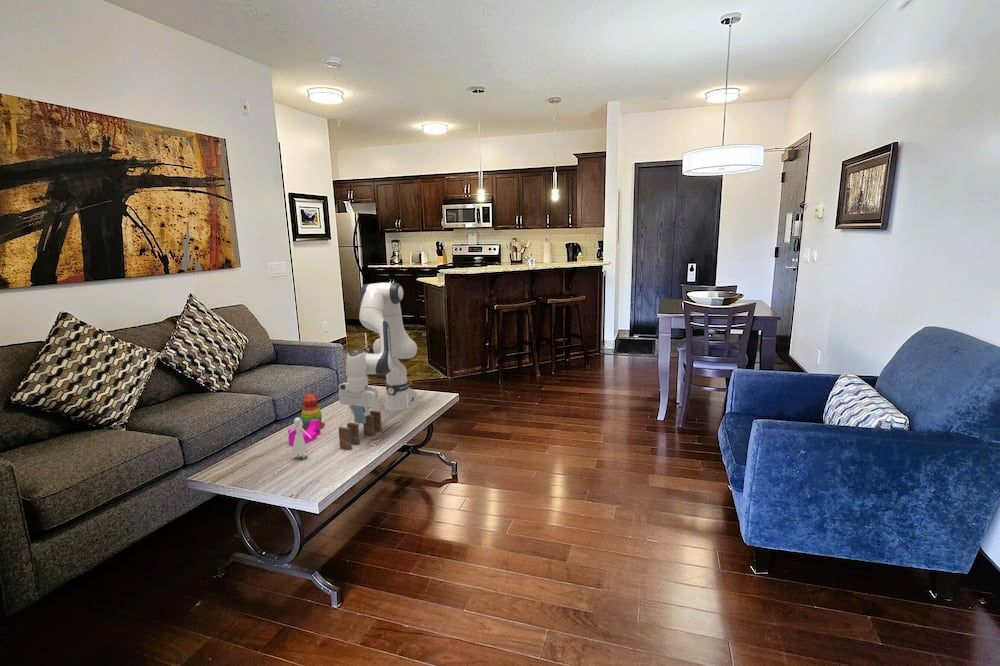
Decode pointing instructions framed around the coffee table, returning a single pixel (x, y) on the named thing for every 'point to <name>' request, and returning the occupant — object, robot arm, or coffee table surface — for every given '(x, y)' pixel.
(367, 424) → the domino
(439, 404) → the coffee table surface
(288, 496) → the coffee table surface
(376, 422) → the domino
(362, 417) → the domino
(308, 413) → the stacking bear
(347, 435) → the domino
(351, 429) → the domino
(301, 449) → the woman figurine
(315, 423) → the toy block
